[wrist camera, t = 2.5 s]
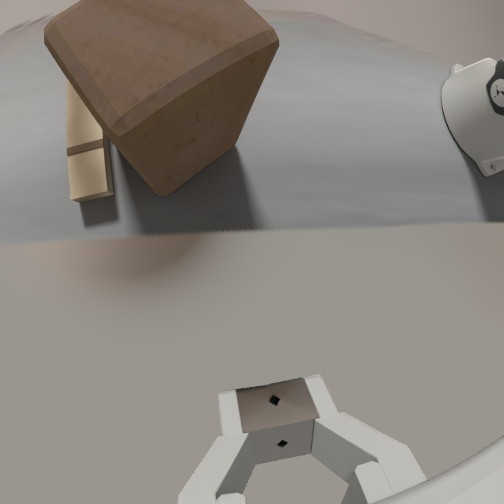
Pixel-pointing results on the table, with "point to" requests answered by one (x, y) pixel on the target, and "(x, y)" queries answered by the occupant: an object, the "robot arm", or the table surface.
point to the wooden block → (165, 77)
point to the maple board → (86, 152)
